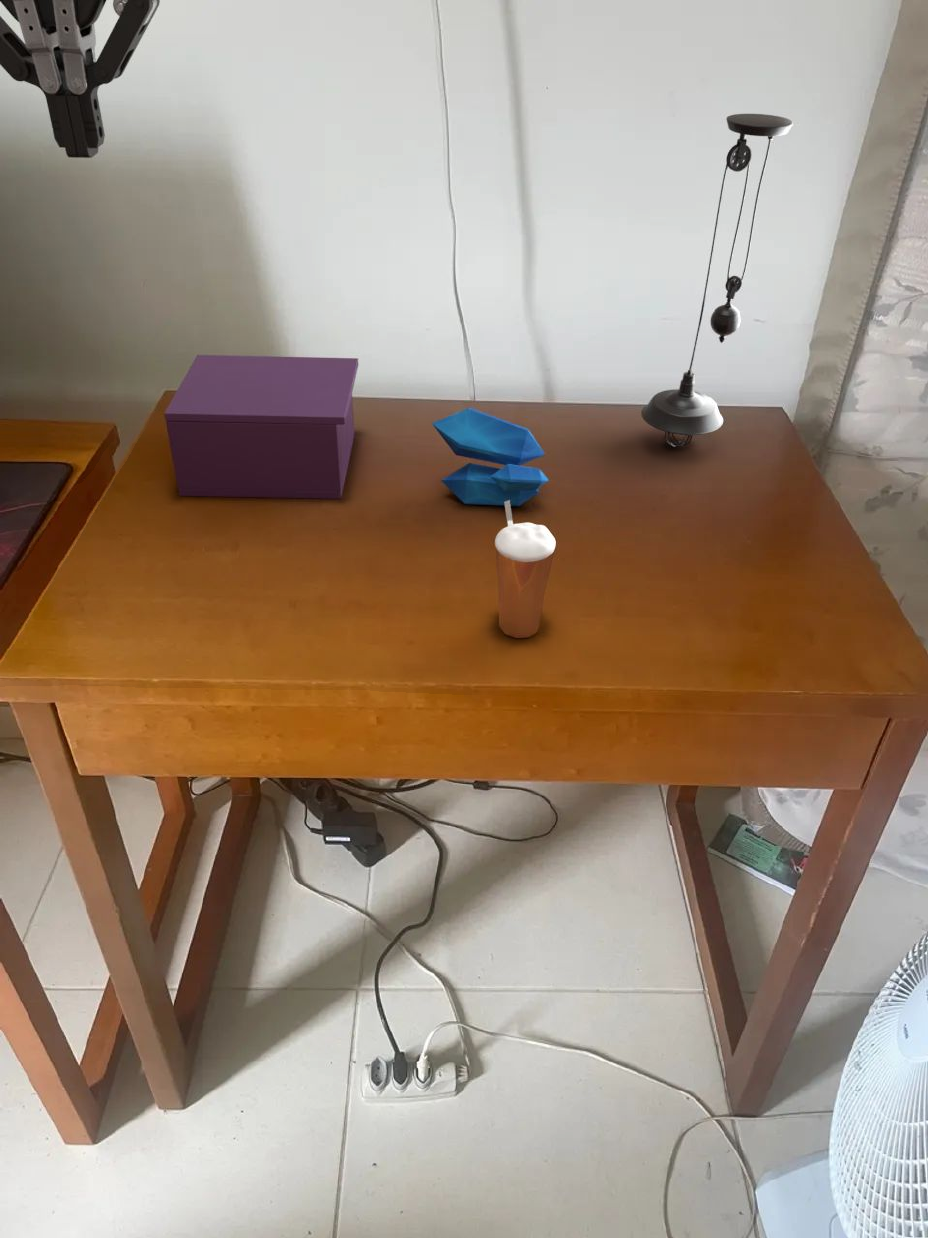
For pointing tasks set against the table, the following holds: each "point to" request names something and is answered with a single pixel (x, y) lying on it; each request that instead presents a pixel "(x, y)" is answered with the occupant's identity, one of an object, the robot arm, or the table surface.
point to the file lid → (265, 390)
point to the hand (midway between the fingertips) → (83, 154)
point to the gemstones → (491, 459)
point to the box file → (261, 458)
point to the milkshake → (522, 575)
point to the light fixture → (684, 405)
